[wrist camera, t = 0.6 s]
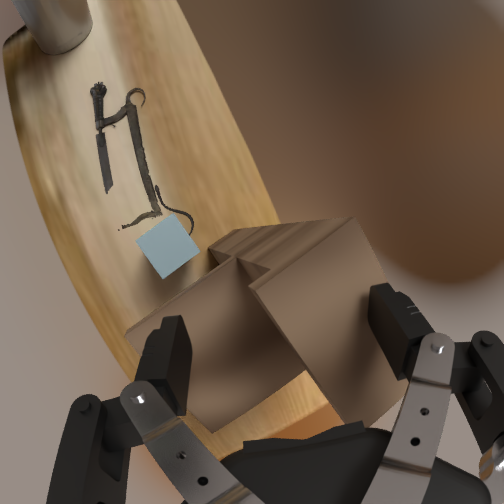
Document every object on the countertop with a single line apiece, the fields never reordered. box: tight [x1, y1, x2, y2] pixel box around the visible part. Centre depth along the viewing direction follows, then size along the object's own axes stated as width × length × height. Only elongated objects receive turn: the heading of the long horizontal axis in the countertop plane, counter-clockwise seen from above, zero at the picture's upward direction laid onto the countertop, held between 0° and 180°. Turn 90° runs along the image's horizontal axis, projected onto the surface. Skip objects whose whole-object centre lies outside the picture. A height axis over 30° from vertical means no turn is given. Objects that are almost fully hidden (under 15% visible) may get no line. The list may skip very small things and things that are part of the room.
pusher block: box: [136, 213, 201, 279], centre depth 31 cm, size 4×4×12 cm
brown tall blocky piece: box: [124, 217, 409, 433], centre depth 25 cm, size 10×13×27 cm
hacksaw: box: [90, 82, 194, 236], centre depth 35 cm, size 24×10×2 cm, turn 14°
